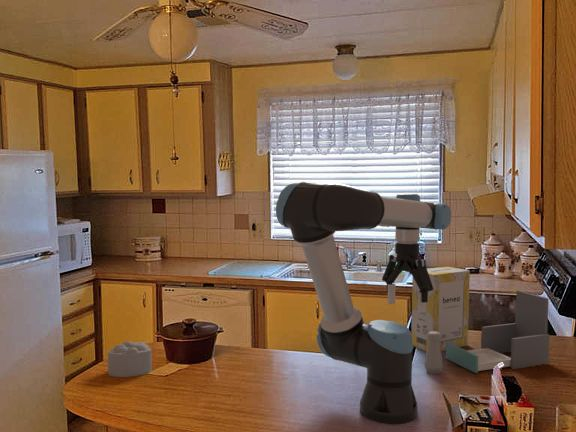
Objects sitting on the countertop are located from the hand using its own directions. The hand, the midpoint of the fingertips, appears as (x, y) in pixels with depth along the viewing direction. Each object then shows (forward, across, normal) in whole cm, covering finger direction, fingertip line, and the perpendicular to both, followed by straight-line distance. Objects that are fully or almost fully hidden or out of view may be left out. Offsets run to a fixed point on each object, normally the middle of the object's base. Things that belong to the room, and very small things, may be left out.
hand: (406, 307), depth 178 cm
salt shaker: (+20, -7, -6) cm, 22 cm away
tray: (+20, -10, -25) cm, 33 cm away
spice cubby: (+20, -13, -38) cm, 45 cm away
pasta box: (+21, +12, -29) cm, 38 cm away
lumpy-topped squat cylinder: (+20, +46, +76) cm, 91 cm away
